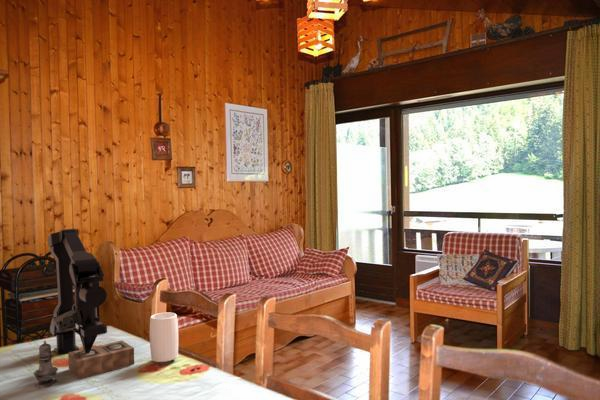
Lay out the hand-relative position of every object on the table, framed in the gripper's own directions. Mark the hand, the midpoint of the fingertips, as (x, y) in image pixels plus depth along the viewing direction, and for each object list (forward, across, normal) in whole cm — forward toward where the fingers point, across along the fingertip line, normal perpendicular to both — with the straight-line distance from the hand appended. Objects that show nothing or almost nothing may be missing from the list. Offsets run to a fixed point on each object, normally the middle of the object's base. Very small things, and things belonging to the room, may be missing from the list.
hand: (87, 352), depth 136 cm
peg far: (+5, 0, +8) cm, 9 cm away
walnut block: (+5, 0, +4) cm, 7 cm away
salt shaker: (+5, +2, -12) cm, 13 cm away
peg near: (+5, 0, 0) cm, 5 cm away
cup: (+5, +9, +20) cm, 23 cm away
